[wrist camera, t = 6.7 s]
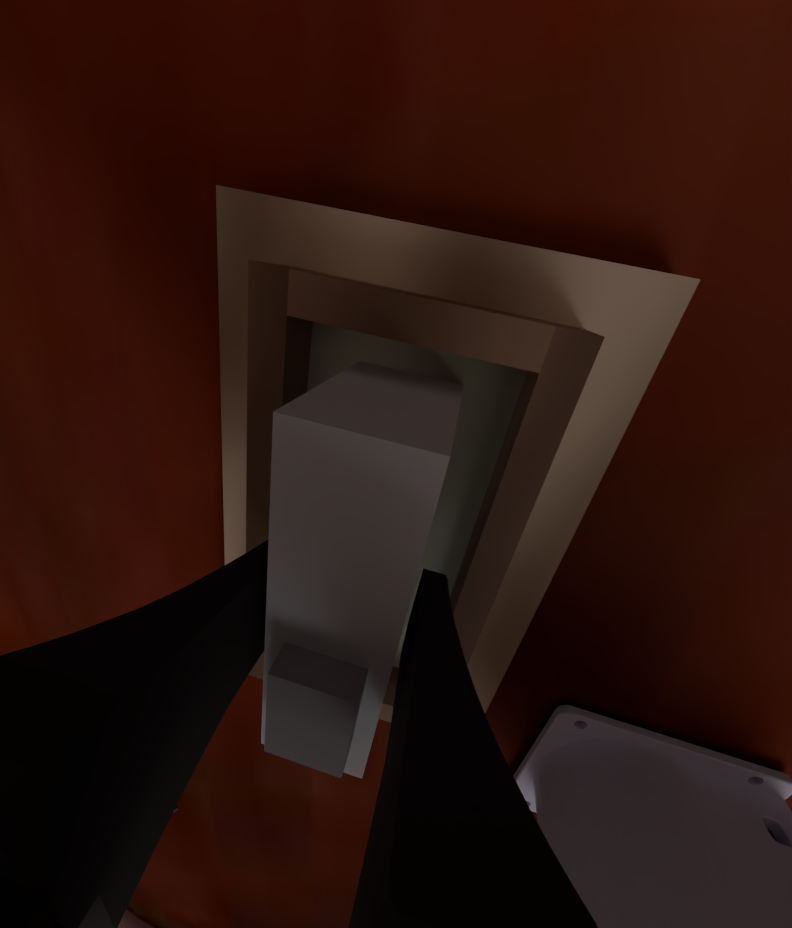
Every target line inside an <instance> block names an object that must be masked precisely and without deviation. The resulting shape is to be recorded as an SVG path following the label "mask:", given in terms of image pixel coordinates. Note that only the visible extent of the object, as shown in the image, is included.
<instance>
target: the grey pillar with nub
mask: <svg viewBox="0 0 792 928" xmlns="http://www.w3.org/2000/svg"><path fill="white" fill-rule="evenodd" d="M463 388H464V385H461V384H457V383H453V382H448V381H444V380H440V379H435V378H431V377H427V376H422V375H418V374H414V373H409V372H405V371H401V370H397V369H392V368H388V367H384V366H379V365H375V364H371V363H366V362H362V361H359V362H357V363H356V364H354V365H352V366H351V367H349V368H347V369H345V370H344V371H342V372H340V373H339V374H337V375H335V376H333V377H332V378H330V379H328V380H327V381H325V382H323V383H321V384H320V385H318V386H316V387H315V388H313V389H311V390H310V391H308V392H306V393H304V394H303V395H301V396H299V397H298V398H296V399H294V400H292V401H291V402H289V403H287V404H286V405H284V406H282V407H280V408H279V409H277V410H275V411H274V412H273V431H272V458H271V485H270V512H269V540H268V567H267V594H266V622H265V649H264V676H263V703H262V731H261V743H262V744H264V751H266V752H268V753H271V754H274V755H277V756H280V757H283V758H285V759H288V760H291V761H294V762H297V763H300V764H302V765H305V766H308V767H311V768H314V769H316V770H319V771H322V772H325V773H328V774H331V775H333V776H336V777H339V778H342V775H343V772H344V773H347V774H350V775H353V776H356V777H359V778H361V779H362V777H363V773H364V770H365V766H366V762H367V759H368V755H369V751H370V748H371V744H372V740H373V737H374V733H375V729H376V726H377V722H378V719H379V715H380V711H381V708H382V704H383V700H384V697H385V693H386V689H387V686H388V682H389V678H390V675H391V671H392V667H393V664H394V660H395V656H396V653H397V649H398V646H399V642H400V638H401V635H402V631H403V627H404V624H405V620H406V616H407V613H408V609H409V605H410V602H411V598H412V594H413V591H414V587H415V583H416V580H417V576H418V573H419V569H420V565H421V562H422V558H423V554H424V551H425V547H426V543H427V540H428V536H429V532H430V529H431V525H432V521H433V518H434V514H435V511H436V507H437V503H438V500H439V496H440V492H441V489H442V485H443V481H444V478H445V474H446V470H447V467H448V463H449V459H450V455H451V450H452V445H453V440H454V435H455V429H456V424H457V419H458V414H459V408H460V403H461V398H462V393H463Z"/></svg>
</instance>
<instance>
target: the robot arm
mask: <svg viewBox="0 0 792 928" xmlns="http://www.w3.org/2000/svg"><path fill="white" fill-rule="evenodd" d="M268 540H269V539H268ZM268 540H266V541H265V542H263V543H261V544H260V545H258V546H256V547H255V548H253V549H252V550H250V551H248V552H247V553H245V554H243V555H242V556H240V557H238V558H237V559H235V560H233V561H232V562H230V563H228V564H226V565H225V566H223V567H221V568H220V569H218V570H216V571H214V572H212V573H210V574H209V575H207V576H205V577H203V578H201V579H199V580H197V581H195V582H193V583H192V584H190V585H188V586H186V587H184V588H182V589H180V590H178V591H176V592H174V593H172V594H170V595H167V596H165V597H163V598H161V599H159V600H157V601H154V602H152V603H150V604H147V605H145V606H143V607H141V608H138V609H136V610H133V611H131V612H128V613H126V614H123V615H120V616H118V617H115V618H113V619H110V620H107V621H105V622H102V623H99V624H97V625H94V626H92V627H89V628H86V629H83V630H81V631H78V632H75V633H72V634H69V635H66V636H63V637H60V638H57V639H54V640H51V641H47V642H44V643H41V644H38V645H35V646H31V647H28V648H25V649H22V650H18V651H15V652H11V653H8V654H4V655H1V656H0V928H117V927H118V925H119V923H120V921H121V918H122V916H123V914H124V912H125V910H126V908H127V906H128V904H129V901H130V899H131V897H132V895H133V893H134V891H135V889H136V887H137V885H138V883H139V881H140V878H141V876H142V874H143V872H144V870H145V868H146V866H147V864H148V862H149V860H150V858H151V855H152V853H153V851H154V849H155V847H156V845H157V843H158V841H159V839H160V837H161V835H162V833H163V831H164V829H165V827H166V825H167V823H168V821H169V819H170V817H171V815H172V813H173V811H174V809H175V807H176V805H177V803H178V801H179V799H180V797H181V795H182V793H183V791H184V789H185V787H186V785H187V783H188V781H189V779H190V778H191V776H192V774H193V772H194V770H195V768H196V766H197V764H198V762H199V760H200V758H201V756H202V754H203V752H204V751H205V749H206V747H207V745H208V743H209V741H210V739H211V737H212V736H213V734H214V732H215V730H216V728H217V726H218V724H219V723H220V721H221V719H222V717H223V715H224V713H225V711H226V710H227V708H228V706H229V704H230V703H231V701H232V699H233V698H234V696H235V695H236V693H237V691H238V690H239V688H240V687H241V685H242V684H243V682H244V680H245V679H246V677H247V676H248V674H249V673H250V671H251V670H252V668H253V667H254V665H255V664H256V662H257V661H258V659H259V658H260V656H261V655H262V653H263V651H264V649H265V622H266V594H267V567H268ZM791 795H792V779H791V778H790V777H789V776H788V775H787V774H785V773H782V772H779V771H776V770H773V769H770V768H767V767H764V766H760V765H757V764H754V763H751V762H748V761H745V760H741V759H738V758H735V757H732V756H729V755H726V754H722V753H719V752H716V751H713V750H710V749H707V748H704V747H700V746H697V745H694V744H691V743H688V742H685V741H681V740H678V739H675V738H672V737H669V736H666V735H662V734H659V733H656V732H653V731H650V730H647V729H643V728H640V727H637V726H634V725H631V724H628V723H624V722H621V721H618V720H615V719H612V718H609V717H605V716H602V715H599V714H596V713H593V712H590V711H586V710H583V709H580V708H577V707H574V706H571V705H561V706H558V707H557V708H556V709H555V711H554V712H553V714H552V715H551V717H550V719H549V720H548V722H547V723H546V725H545V726H544V728H543V730H542V731H541V733H540V734H539V736H538V738H537V739H536V741H535V742H534V744H533V745H532V747H531V749H530V750H529V752H528V753H527V755H526V756H525V758H524V760H523V761H522V763H521V764H520V766H519V768H518V769H517V771H516V772H515V774H514V775H513V774H512V772H511V770H510V768H509V766H508V764H507V762H506V760H505V758H504V756H503V754H502V752H501V750H500V748H499V745H498V743H497V741H496V739H495V736H494V734H493V732H492V730H491V727H490V725H489V723H488V720H487V718H486V715H485V713H484V710H483V708H482V705H481V703H480V700H479V698H478V695H477V692H476V690H475V687H474V684H473V681H472V678H471V675H470V672H469V669H468V666H467V663H466V660H465V657H464V654H463V651H462V647H461V643H460V640H459V636H458V632H457V629H456V625H455V621H454V616H453V611H452V607H451V601H450V596H449V588H448V579H447V577H446V575H445V574H441V573H438V572H434V571H431V570H428V569H424V568H423V572H422V575H421V579H420V582H419V586H418V589H417V593H416V596H415V600H414V603H413V607H412V610H411V614H410V617H409V621H408V625H407V629H406V633H405V638H404V642H403V646H402V650H401V655H400V662H399V669H398V676H397V683H396V691H395V698H394V705H393V713H392V720H391V727H390V735H389V742H388V748H387V754H386V759H385V765H384V769H383V774H382V779H381V783H380V788H379V793H378V797H377V802H376V806H375V811H374V816H373V820H372V825H371V829H370V834H369V838H368V843H367V847H366V852H365V857H364V861H363V866H362V870H361V875H360V879H359V884H358V888H357V893H356V897H355V902H354V906H353V911H352V915H351V920H350V924H349V928H792V812H791V810H790V808H789V806H788V805H787V803H786V801H785V799H787V798H788V797H789V796H791ZM531 811H533V812H536V813H537V821H536V819H535V817H534V816H533V814H532V812H531ZM537 822H538V823H537Z"/></svg>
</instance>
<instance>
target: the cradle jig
mask: <svg viewBox="0 0 792 928" xmlns="http://www.w3.org/2000/svg"><path fill="white" fill-rule="evenodd" d="M216 210H217V253H218V295H219V338H220V381H221V423H222V466H223V509H224V551H225V565H226V564H228V563H230V562H232V561H233V560H235V559H237V558H238V557H240V556H242V555H243V554H245V553H247V552H248V551H250V550H252V549H253V548H255V547H256V546H258V545H260V544H261V543H263V542H265V541H266V540H268V539H269V512H270V485H271V458H272V431H273V412H274V411H275V410H277V409H279V408H280V407H282V406H284V405H286V404H287V403H289V402H291V401H292V400H294V399H296V398H298V397H299V396H301V395H303V394H304V393H306V392H308V391H310V390H311V389H313V388H315V387H316V386H318V385H320V384H321V383H323V382H325V381H327V380H328V379H330V378H332V377H333V376H335V375H337V374H339V373H340V372H342V371H344V370H345V369H347V368H349V367H351V366H352V365H354V364H356V363H357V362H359V361H362V362H366V363H371V364H375V365H379V366H384V367H388V368H392V369H397V370H401V371H405V372H409V373H414V374H418V375H422V376H427V377H431V378H435V379H440V380H444V381H448V382H453V383H457V384H461V385H464V388H463V393H462V398H461V403H460V408H459V414H458V419H457V424H456V429H455V435H454V440H453V445H452V450H451V455H450V459H449V463H448V467H447V470H446V474H445V478H444V481H443V485H442V489H441V492H440V496H439V500H438V503H437V507H436V511H435V514H434V518H433V521H432V525H431V529H430V532H429V536H428V540H427V543H426V547H425V551H424V554H423V558H422V562H421V565H420V569H419V573H418V576H417V580H416V583H415V587H414V591H413V594H412V598H411V602H410V605H409V609H408V613H407V616H406V620H405V624H404V627H403V631H402V635H401V638H400V642H399V646H398V649H397V653H396V656H395V660H394V664H393V667H392V671H391V675H390V678H389V682H388V686H387V689H386V693H385V697H384V700H383V704H382V708H381V711H380V715H379V719H382V720H384V721H387V722H390V723H391V720H392V713H393V705H394V698H395V691H396V683H397V676H398V669H399V662H400V655H401V650H402V646H403V642H404V638H405V633H406V629H407V625H408V621H409V617H410V614H411V610H412V607H413V603H414V600H415V596H416V593H417V589H418V586H419V582H420V579H421V575H422V572H423V568H424V569H428V570H431V571H434V572H438V573H441V574H445V575H446V577H447V579H448V588H449V596H450V601H451V607H452V611H453V616H454V621H455V625H456V629H457V632H458V636H459V640H460V643H461V647H462V651H463V654H464V657H465V660H466V663H467V666H468V669H469V672H470V675H471V678H472V681H473V684H474V687H475V690H476V692H477V695H478V698H479V700H480V703H481V705H482V708H483V710H484V713H486V711H487V709H488V707H489V705H490V703H491V701H492V699H493V697H494V695H495V693H496V691H497V689H498V687H499V685H500V683H501V681H502V679H503V677H504V675H505V673H506V671H507V669H508V667H509V665H510V662H511V660H512V658H513V656H514V654H515V652H516V650H517V648H518V646H519V644H520V642H521V640H522V638H523V636H524V634H525V632H526V630H527V628H528V626H529V624H530V622H531V620H532V618H533V616H534V614H535V612H536V610H537V608H538V606H539V604H540V602H541V600H542V598H543V596H544V594H545V592H546V590H547V588H548V586H549V584H550V582H551V580H552V578H553V576H554V574H555V572H556V570H557V568H558V566H559V564H560V562H561V560H562V558H563V556H564V554H565V552H566V550H567V548H568V546H569V544H570V542H571V540H572V537H573V535H574V533H575V531H576V529H577V527H578V525H579V523H580V521H581V519H582V517H583V515H584V513H585V511H586V509H587V507H588V505H589V503H590V501H591V499H592V497H593V495H594V493H595V491H596V489H597V487H598V485H599V483H600V481H601V479H602V477H603V475H604V473H605V471H606V469H607V467H608V465H609V463H610V461H611V459H612V457H613V455H614V453H615V451H616V449H617V447H618V445H619V443H620V441H621V439H622V437H623V435H624V433H625V431H626V429H627V427H628V425H629V423H630V421H631V419H632V417H633V415H634V413H635V410H636V408H637V406H638V404H639V402H640V400H641V398H642V396H643V394H644V392H645V390H646V388H647V386H648V384H649V382H650V380H651V378H652V376H653V374H654V372H655V370H656V368H657V366H658V364H659V362H660V360H661V358H662V356H663V354H664V352H665V350H666V348H667V346H668V344H669V342H670V340H671V338H672V336H673V334H674V332H675V330H676V328H677V326H678V324H679V322H680V320H681V318H682V316H683V314H684V312H685V310H686V308H687V306H688V304H689V302H690V300H691V298H692V296H693V294H694V292H695V290H696V288H697V286H698V283H699V281H700V279H696V278H691V277H685V276H680V275H675V274H670V273H665V272H660V271H655V270H650V269H644V268H639V267H634V266H629V265H624V264H619V263H614V262H609V261H603V260H598V259H593V258H588V257H583V256H578V255H573V254H568V253H563V252H557V251H552V250H547V249H542V248H537V247H532V246H527V245H522V244H516V243H511V242H506V241H501V240H496V239H491V238H486V237H481V236H475V235H470V234H465V233H460V232H455V231H450V230H445V229H440V228H435V227H429V226H424V225H419V224H414V223H409V222H404V221H399V220H394V219H388V218H383V217H378V216H373V215H368V214H363V213H358V212H353V211H348V210H342V209H337V208H332V207H327V206H322V205H317V204H312V203H307V202H301V201H296V200H291V199H286V198H281V197H276V196H271V195H266V194H260V193H255V192H250V191H245V190H240V189H235V188H230V187H225V186H220V185H216ZM248 675H251V676H254V677H257V678H260V679H263V676H264V651H263V653H262V655H261V656H260V658H259V659H258V661H257V662H256V664H255V665H254V667H253V668H252V670H251V671H250V673H249V674H248Z"/></svg>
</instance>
